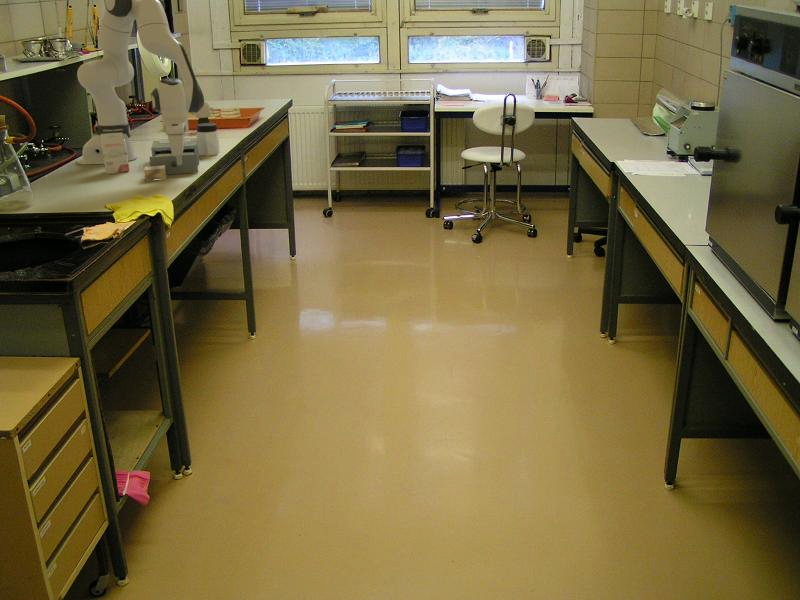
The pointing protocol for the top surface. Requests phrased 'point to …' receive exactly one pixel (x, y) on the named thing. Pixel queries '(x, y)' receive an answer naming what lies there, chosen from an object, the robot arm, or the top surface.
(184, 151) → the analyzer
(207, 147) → the jar
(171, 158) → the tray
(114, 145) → the ink cartridge box
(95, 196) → the top surface
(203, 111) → the character mug
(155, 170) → the block
